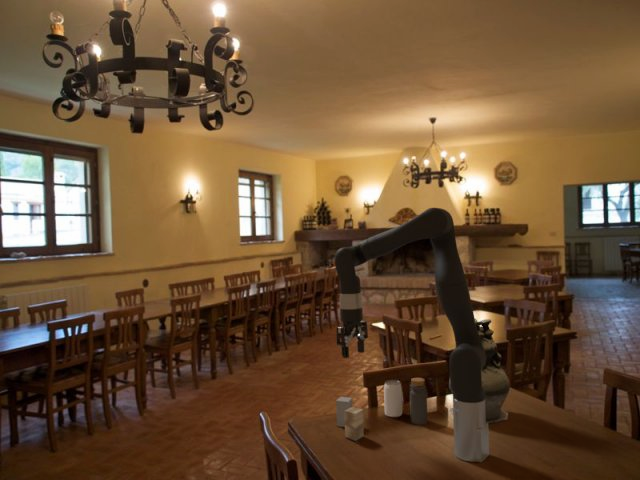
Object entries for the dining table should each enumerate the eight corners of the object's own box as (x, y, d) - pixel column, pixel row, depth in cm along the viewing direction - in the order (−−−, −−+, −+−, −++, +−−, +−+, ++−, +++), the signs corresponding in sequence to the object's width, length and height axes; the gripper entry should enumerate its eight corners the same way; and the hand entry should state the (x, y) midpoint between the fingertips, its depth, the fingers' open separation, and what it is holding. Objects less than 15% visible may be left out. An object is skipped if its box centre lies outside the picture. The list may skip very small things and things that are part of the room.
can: (397, 418, 179) (396, 385, 179) (381, 415, 183) (380, 383, 183) (405, 413, 184) (404, 381, 184) (390, 410, 188) (389, 378, 188)
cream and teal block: (363, 436, 165) (362, 409, 164) (356, 441, 161) (355, 413, 161) (352, 433, 167) (352, 407, 167) (345, 438, 164) (344, 410, 164)
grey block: (353, 423, 176) (352, 397, 176) (348, 427, 172) (347, 401, 172) (341, 421, 178) (340, 396, 178) (336, 426, 174) (336, 400, 174)
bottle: (428, 424, 173) (427, 381, 173) (412, 425, 173) (410, 382, 173) (425, 418, 179) (424, 376, 179) (409, 418, 179) (408, 377, 179)
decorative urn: (439, 412, 186) (433, 319, 186) (483, 401, 194) (478, 312, 194) (477, 431, 166) (470, 327, 166) (525, 418, 175) (519, 319, 174)
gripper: (347, 310, 158) (349, 361, 158) (372, 304, 169) (374, 351, 169) (328, 308, 163) (331, 358, 163) (354, 303, 174) (357, 349, 174)
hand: (353, 354), depth 166 cm, fingers open, 8 cm apart
